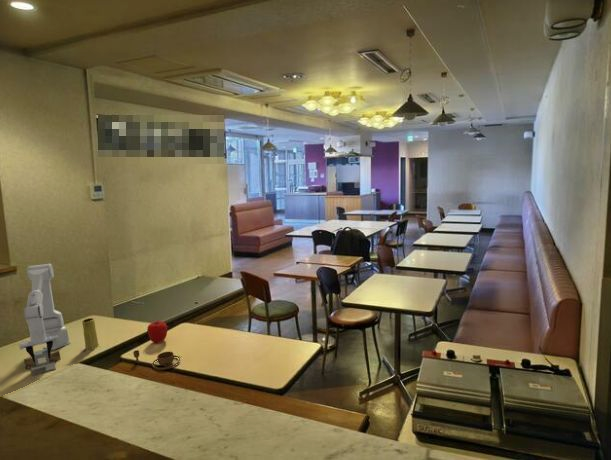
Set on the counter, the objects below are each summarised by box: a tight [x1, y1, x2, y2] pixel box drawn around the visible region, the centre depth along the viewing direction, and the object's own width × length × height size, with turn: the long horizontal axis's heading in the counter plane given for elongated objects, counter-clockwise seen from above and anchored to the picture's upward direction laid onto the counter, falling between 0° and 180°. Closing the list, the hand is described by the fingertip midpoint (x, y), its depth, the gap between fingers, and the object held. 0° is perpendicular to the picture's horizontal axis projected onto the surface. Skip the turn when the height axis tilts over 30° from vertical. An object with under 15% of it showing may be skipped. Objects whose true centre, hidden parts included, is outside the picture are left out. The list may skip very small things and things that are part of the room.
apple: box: [147, 320, 168, 344], centre depth 211 cm, size 10×10×11 cm
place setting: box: [133, 349, 181, 371], centre depth 190 cm, size 18×20×6 cm
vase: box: [81, 317, 100, 350], centre depth 209 cm, size 6×6×14 cm
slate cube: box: [34, 348, 49, 366], centre depth 189 cm, size 5×5×5 cm
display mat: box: [31, 361, 57, 377], centre depth 190 cm, size 9×9×1 cm
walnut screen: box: [23, 350, 61, 369], centre depth 195 cm, size 14×2×4 cm, turn 123°
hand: (42, 359), depth 189 cm, fingers closed on slate cube, 5 cm apart
